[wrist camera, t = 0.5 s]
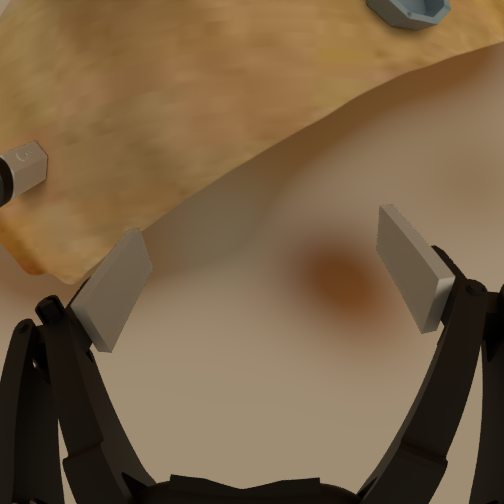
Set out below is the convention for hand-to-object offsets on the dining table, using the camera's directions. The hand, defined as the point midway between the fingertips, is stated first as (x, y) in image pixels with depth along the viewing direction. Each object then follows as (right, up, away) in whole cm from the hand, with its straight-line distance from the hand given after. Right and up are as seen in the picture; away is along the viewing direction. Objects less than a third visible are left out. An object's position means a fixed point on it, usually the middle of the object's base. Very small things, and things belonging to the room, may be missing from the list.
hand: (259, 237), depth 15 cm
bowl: (+21, +36, +9) cm, 43 cm away
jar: (-40, +16, +24) cm, 50 cm away
